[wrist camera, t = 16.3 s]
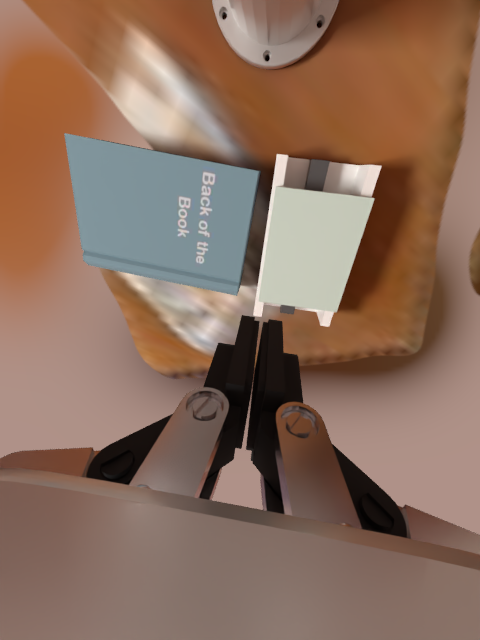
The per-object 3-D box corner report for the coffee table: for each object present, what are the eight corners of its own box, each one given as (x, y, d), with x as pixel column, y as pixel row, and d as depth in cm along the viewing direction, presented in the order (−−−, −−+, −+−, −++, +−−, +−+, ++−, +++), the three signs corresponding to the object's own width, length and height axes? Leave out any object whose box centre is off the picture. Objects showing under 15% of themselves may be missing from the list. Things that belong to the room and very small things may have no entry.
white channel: (276, 156, 32) (276, 153, 28) (367, 166, 31) (381, 165, 27) (255, 300, 42) (253, 315, 38) (323, 310, 41) (328, 326, 37)
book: (260, 171, 33) (258, 171, 29) (240, 285, 42) (236, 298, 37) (91, 138, 34) (64, 133, 30) (104, 257, 42) (84, 266, 38)
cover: (275, 186, 29) (276, 186, 28) (371, 197, 28) (374, 198, 28) (258, 298, 36) (258, 301, 35) (335, 308, 36) (336, 312, 35)
